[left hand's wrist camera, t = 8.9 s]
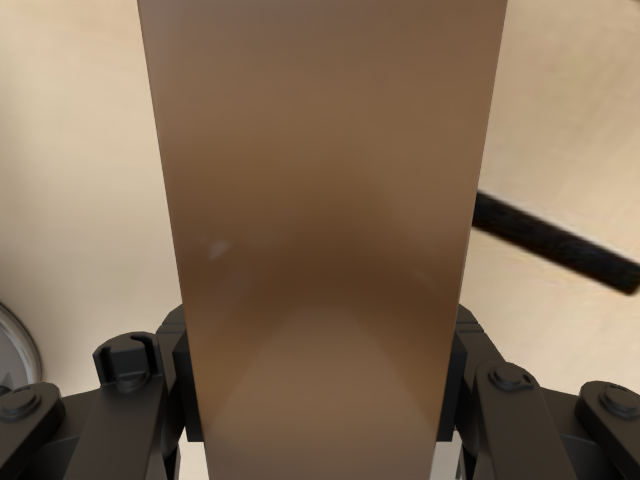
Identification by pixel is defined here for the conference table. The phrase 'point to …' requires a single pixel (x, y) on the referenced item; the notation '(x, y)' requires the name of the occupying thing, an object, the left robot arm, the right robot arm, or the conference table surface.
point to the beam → (321, 219)
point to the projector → (446, 459)
